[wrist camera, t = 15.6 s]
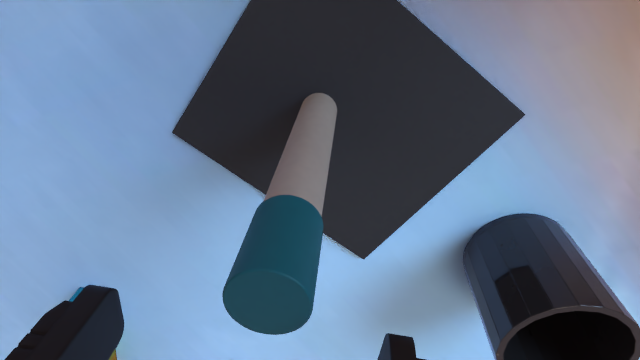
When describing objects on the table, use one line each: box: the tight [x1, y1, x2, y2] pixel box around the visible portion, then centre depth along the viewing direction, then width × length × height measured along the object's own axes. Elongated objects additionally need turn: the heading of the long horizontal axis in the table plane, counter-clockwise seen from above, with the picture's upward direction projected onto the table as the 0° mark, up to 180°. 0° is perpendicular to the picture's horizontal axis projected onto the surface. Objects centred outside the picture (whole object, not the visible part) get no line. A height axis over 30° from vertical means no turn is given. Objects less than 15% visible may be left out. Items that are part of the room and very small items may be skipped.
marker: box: [223, 93, 337, 335], centre depth 21 cm, size 3×3×19 cm
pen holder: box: [463, 214, 640, 360], centre depth 30 cm, size 9×9×10 cm
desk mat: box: [172, 0, 525, 259], centre depth 30 cm, size 20×18×1 cm
